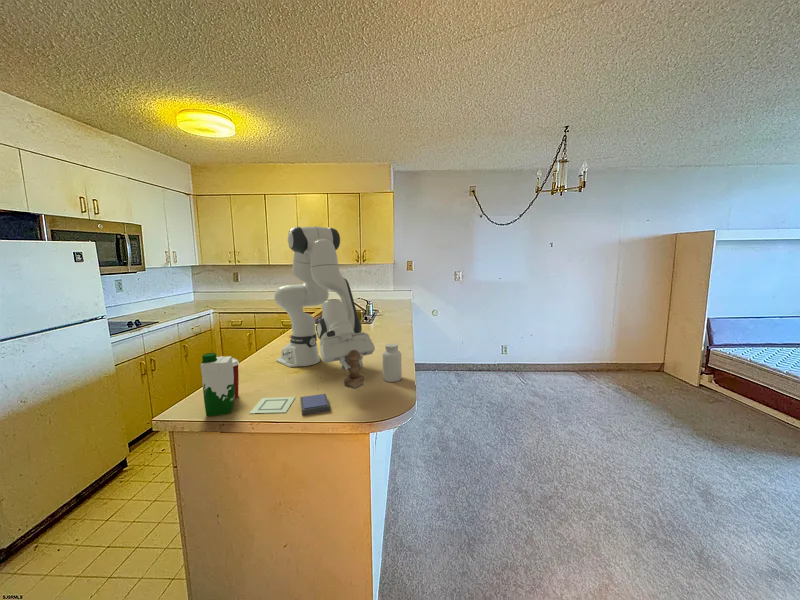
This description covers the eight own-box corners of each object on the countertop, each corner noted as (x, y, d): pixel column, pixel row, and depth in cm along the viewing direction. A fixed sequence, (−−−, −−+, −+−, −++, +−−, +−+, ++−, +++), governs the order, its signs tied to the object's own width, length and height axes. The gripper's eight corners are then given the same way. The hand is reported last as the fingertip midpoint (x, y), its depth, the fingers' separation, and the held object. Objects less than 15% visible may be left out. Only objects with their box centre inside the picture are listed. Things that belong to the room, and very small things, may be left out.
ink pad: (300, 401, 119) (300, 396, 119) (325, 398, 122) (325, 392, 122) (302, 415, 109) (301, 409, 108) (329, 411, 112) (329, 405, 111)
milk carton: (209, 407, 115) (204, 351, 113) (237, 403, 118) (233, 349, 115) (202, 418, 107) (197, 359, 104) (232, 414, 109) (228, 356, 107)
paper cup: (237, 391, 129) (234, 356, 127) (244, 397, 123) (242, 361, 121) (215, 397, 123) (212, 361, 122) (221, 403, 118) (218, 365, 116)
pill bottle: (379, 379, 141) (378, 345, 139) (392, 374, 147) (391, 341, 145) (392, 384, 135) (392, 348, 133) (405, 378, 141) (405, 344, 139)
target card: (262, 398, 122) (262, 397, 122) (295, 397, 122) (295, 396, 122) (249, 413, 110) (249, 412, 110) (285, 412, 111) (285, 411, 111)
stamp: (344, 386, 119) (343, 350, 117) (353, 381, 123) (352, 347, 121) (355, 389, 116) (354, 353, 114) (364, 384, 120) (363, 349, 118)
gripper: (364, 335, 132) (376, 366, 126) (315, 343, 121) (325, 377, 114) (369, 327, 128) (382, 358, 121) (319, 334, 116) (330, 369, 110)
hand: (354, 367), depth 118 cm, fingers closed on stamp, 4 cm apart
